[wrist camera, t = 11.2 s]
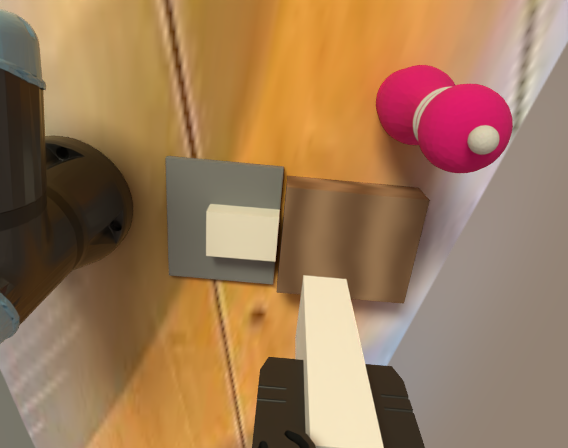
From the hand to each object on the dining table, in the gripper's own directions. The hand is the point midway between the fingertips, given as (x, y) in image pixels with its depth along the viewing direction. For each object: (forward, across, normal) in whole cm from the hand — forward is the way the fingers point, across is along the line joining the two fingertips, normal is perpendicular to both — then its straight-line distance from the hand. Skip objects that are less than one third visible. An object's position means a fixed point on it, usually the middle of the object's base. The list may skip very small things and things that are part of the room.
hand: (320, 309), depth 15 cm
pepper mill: (+33, +10, +4) cm, 34 cm away
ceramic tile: (+32, -6, -12) cm, 34 cm away
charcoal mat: (+32, -8, -12) cm, 35 cm away
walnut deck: (+32, +6, -12) cm, 35 cm away
